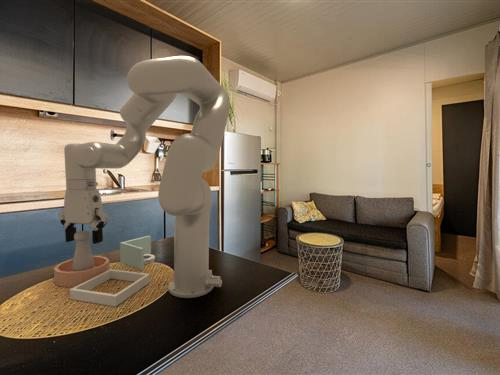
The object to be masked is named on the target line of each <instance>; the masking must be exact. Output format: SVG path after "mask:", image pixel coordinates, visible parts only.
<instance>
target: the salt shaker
mask: <svg viewBox="0 0 500 375" xmlns="http://www.w3.org/2000/svg"><path fill="white" fill-rule="evenodd" d="M91 238H92V232H90V231H89V230H80V231H76V233H75V234H74V239H75V240H74V241H76V243H75V250H74V254H73V258H72V259H73V263H72V270H73V272H75V271H84V270H88V269H92V268H94V260H93V256H94V255H93V251H92V247H91V243H90V239H91Z"/></svg>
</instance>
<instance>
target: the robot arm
mask: <svg viewBox="0 0 500 375" xmlns="http://www.w3.org/2000/svg"><path fill="white" fill-rule="evenodd" d="M126 83H127V86H128V88H129V90H131V92H133V94H132V95H131V97H130V98H129V99H128V100H127V101H126V102H125V103H124V104H123V105H122V107H121V108H120V110H119V116H120V118H121V119H122V120H123V122H124V123H125V124H126V130H125V131H124V134H123V136H121V138H120V139H119V140H118V141H117V142H116V143H115V144H114V143H108V142H100V141H89V142H85V143H67V144H65V146H64V148H63V153H64V154H63V155H64V168H65V170H64V172H65V186H66V188H65V189H66V190H65V192H64V200H63V201H64V203H63V211H61V212H59V213H57V216H58V218H59V220H60V224H61V225H62V228H63V229H64V234H65V237H64V238H65V243H70V242H73V241H76V240H75V239H74V234H75V233H76V232H77V226H76V224H80V225H90V226H91V228H92V229H93V230H91V238H92V244H93V245H97V244H100V243H102V242H103V241H104V240H103V239H104V237H103V230H104V229H105V226H107V223H108V220H109V217H110V215H109V214H107V213H106V212H104V210H103V203H102V202H103V201H102V198H101V196H102V195H101V194H100V193H101V192H100V191H99V189H97V187H98V186H99V184H98V182H97V177H96V176H97V171H96V169H103V170H104V169H105V170H106V169H111V170H112V169H122V168H124V167H126V166H127V165H129V164H130V163H131V162H132V161H133V160H134V159H135V158H136V156H138V155H139V153H140V152H141V150H142V149H143V146H144V144H145V141H146V136H147V135H146V134H147V131H148V130H149V129H150V127H152V125H153V124H155V122H156V121H157V120H158V119H159V117H160V116H161V115H162V114H163V113H164V112H165V111H166V110H167V109H168V108H169V106H170V105H171V104H172V103H173V102H174V101H175V99H176V98H177V94H182V95H184V96H185V97H186V98H188V99H190V100H191V101H192V102H195V103H196V104H197V105H198V106H199V109H198V111H197V112H196V114H195V116H194V120H193V123H192V128H191V131H190V133H189V132H188V133H184V134H181V135H179V136H177V137H176V138H175V139H173V141H172V143H171V144H170V146H169V148H168V150H167V154H166V158H165V161H164V166H163V170H162V173H161V177H160V183H159V187H158V193H157V195H158V203H159V206H160V208H161V210H162V211H163V212H165V213H166V214H167V215H169V216H173V217H174V230H173V234H174V235H173V247H174V248H173V272H174V273H173V280H171V281H170V282H169V283H168V285H167V287H168V288H167V289H168V292H169V294H171V295H172V296H174V297H176V298H181V299H182V298H183V299H191V298H192V299H193V298H198V297H201V296H204V295H207V294H208V293H209V294H210V292H211V291H213V289H214V287H216V288H221V287H222V284H223V279H222V278H221V276H219V275H213V270H212V269H209V264H210V263H209V262H210V260H209V259H210V258H209V256H210V254H209V253H210V252H209V251H210V250H209V249H210V248H209V247H210V243H209V242H210V219H211V218H210V216H211V206H212V198H213V197H212V196H213V195H212V189H211V186H210V185H209V183H208V181H206V180H205V179H204V178H202V177H203V173H208V172H211V171H212V170H213V169H214V168H215V167H216V165H217V163H218V159H219V156H220V152H221V147H222V144H223V139H224V136H225V130H226V128H227V123H228V119H229V114H230V109H231V102H230V99H229V98H230V97H229V95H228V93H227V91H226V90H225V87H224V86H222V85H221V83H220V82H219V81H218V80H217V79H216V78H215V77H214V75H212V74H211V72H210V71H209V70H208V69H207V68H206V66H205V65H204V64H203V63H201V61H200V60H199V59H197V58H195V57H192V56H188V55H177V56H167V57H158V58H151V59H146V60H142V61H139V62H137V63H135V64H134V65H133V66H132V67H131V68H130V69H129V71H128V73H127V76H126Z"/></svg>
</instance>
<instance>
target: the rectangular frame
mask: <svg viewBox="0 0 500 375" xmlns="http://www.w3.org/2000/svg"><path fill="white" fill-rule="evenodd" d="M111 279H112V280H120V281H127V282H131V284H129V285H128V286H126V287H124V288H123V289H122V290H120V291H119V292H117V293H115V294H113V293H107V292H101V291H94V290H93V289H94V288H96V287H98V286H99V285H101V284H103V283H105V282H107V281H109V280H111ZM132 282H133V283H132ZM150 283H151V274H150V273H145V272H144V273H143V272H135V271H129V270H128V271H127V270H122V269H121V270H120V269H113V268H112V269H111V268H110V270H108V271H106V272H104V273H102V274H100V275H98V276H96V277H94V278H92V279H90V280H88V281H86V282H84V283H82V284H80V285H78V286H74V287H71V288H70V289H69V300H73V301H77V302H79V301H80V302H83V303H84V302H85V303H90V304H91V303H92V304H98V305H104V306H108V307H109V306H110V307H117V306H119V305H120V304H121V303H123V302H124V301H125V300H127V299H128V298H130V297H131V296H133V295H134V294H136V293H137V292H138V291H140V290H142V289H143V288H144V287H145V286H147V285H148V284H150Z"/></svg>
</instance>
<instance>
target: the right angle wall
mask: <svg viewBox="0 0 500 375" xmlns="http://www.w3.org/2000/svg"><path fill="white" fill-rule="evenodd" d="M119 258H120V259H119V262H120V263H121V264H124V265H126V266H129V267H133V268H135V269H138V270H141V271H143V270H144V269H145V265H151V264H154V262H155V260H156V256H155V254H152V236H151V235H145V236H142V237H138V238H133V239H129V240H126V241H121V242H119Z"/></svg>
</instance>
